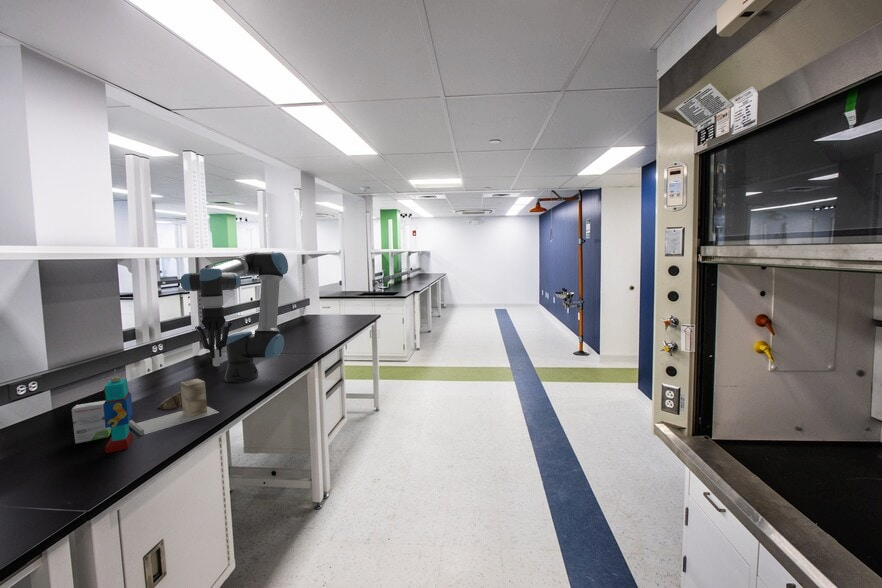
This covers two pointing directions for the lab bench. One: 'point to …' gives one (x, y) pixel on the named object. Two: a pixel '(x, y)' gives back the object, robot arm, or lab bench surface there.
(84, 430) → the ink box
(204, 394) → the block
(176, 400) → the rock
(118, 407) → the toy robot
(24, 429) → the lab bench surface
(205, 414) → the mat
